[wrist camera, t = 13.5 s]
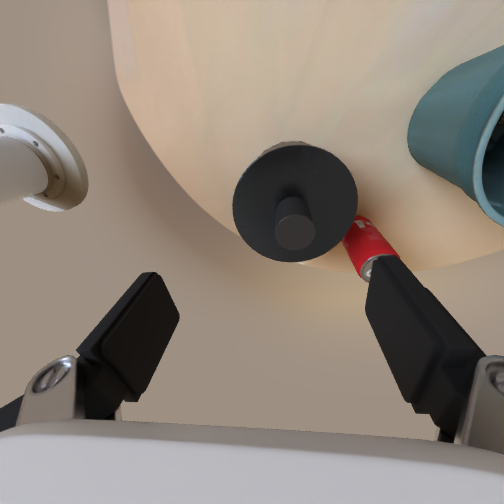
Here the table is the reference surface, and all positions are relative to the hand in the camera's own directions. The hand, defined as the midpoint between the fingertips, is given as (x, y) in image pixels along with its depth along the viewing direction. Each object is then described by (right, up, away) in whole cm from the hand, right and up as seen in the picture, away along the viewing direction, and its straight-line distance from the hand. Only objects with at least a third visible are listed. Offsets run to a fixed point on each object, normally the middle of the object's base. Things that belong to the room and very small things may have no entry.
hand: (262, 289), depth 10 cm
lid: (+5, +7, +17) cm, 19 cm away
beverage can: (+17, +6, +27) cm, 33 cm away
